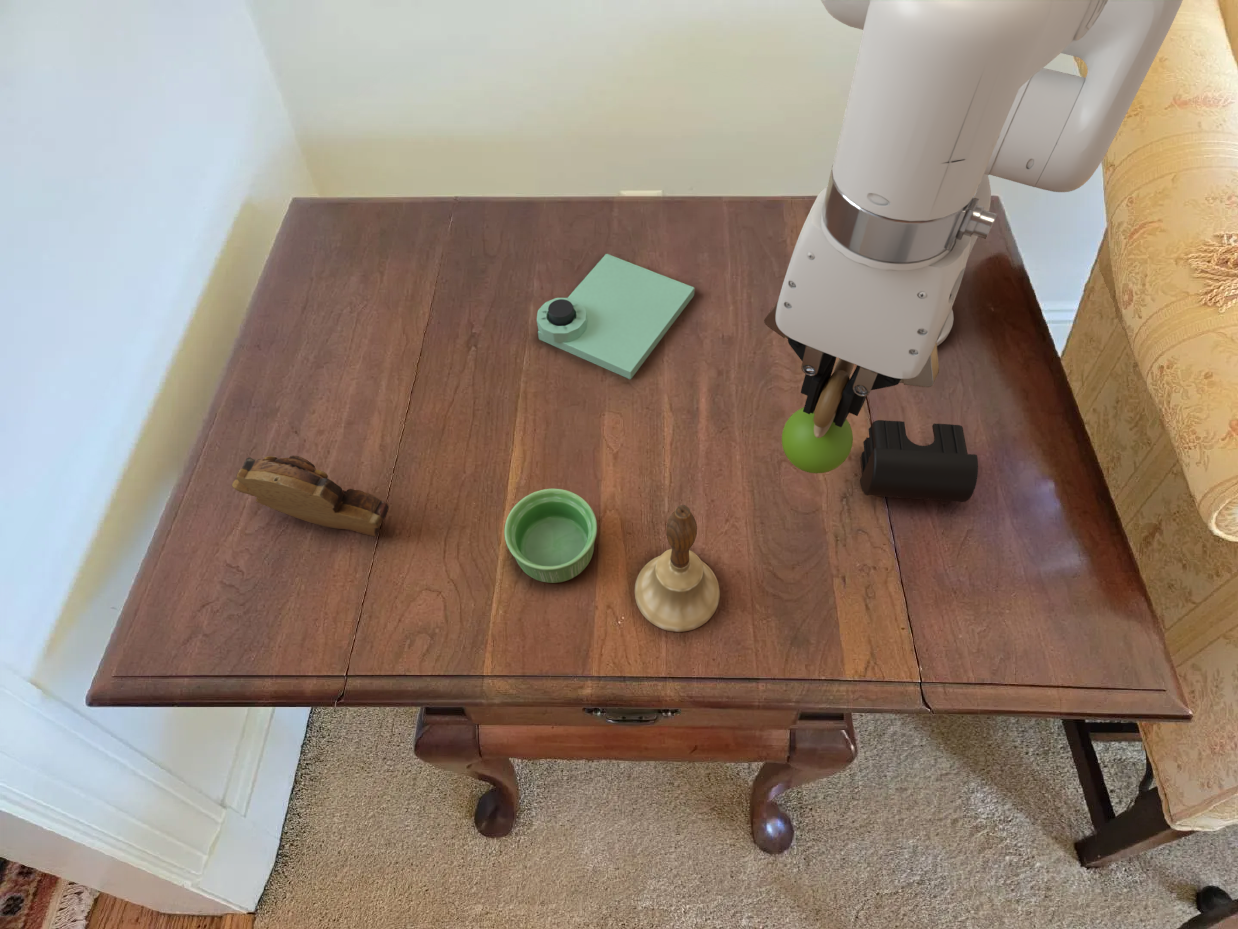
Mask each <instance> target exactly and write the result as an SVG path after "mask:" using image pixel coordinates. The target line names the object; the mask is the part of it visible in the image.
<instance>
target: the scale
mask: <svg viewBox="0 0 1238 929" xmlns="http://www.w3.org/2000/svg"><path fill="white" fill-rule="evenodd" d="M694 297H695V287H694V286H692V285H690V284H686V283H683V282H682V281H679V280H676V279H673V278H670V277H669V276H665V275H663V274H661V273H659V272H655V271H652V270H650V269H648V268H646V267H643V266H639V265H637V264H635V263H632V262H629V261H627V260H624V259H622V258H619V257H616V256H613V255H611V254H609V253H605V254H604V256H602V258H601V259H600V260H599V261H598V262H597V263H596V265H595V266H594V267H593V268H592V269H591V270H590V271H589V272H588V274H587V275H586V276H585V277H584V278H583V280H582V281H581V282H580V283H579V284H578V285H577V286H576V287H575V288H574V290H573V291H572V292H571V293H570V294H569V295H568V296H567V297H555V298H553V299H550V300H547V301H545V302H544V303H543V304H542V305H541V306H540V308H538V310H537V312H536V324H537V330H538V331H537V335H538V336H537V337H538V340H539V341H541V342H544V343H546V344H549V345H551V346H553V347H555V348H557V349H560V350H562V351H564V352H567V353H569V354H572V355H574V356H576V357H578V358H580V359H583V360H584V361H588V362H590V363H591V364H594V365H596V366H597V367H601V368H603V369H605V370H607V371H610V372H613V373H614V374H616V375H619V376H621V377H623V378H625V379H628V380H632V379H633V377H634V376H635V375H636V374H637V372H638V371H639V369H640V368H641V366H643V364H644V363H645V362H646V360H647V359H648V357H649V356H650V355H651V353H653V351H654V349H655V348H656V347H657V346H658V344H659V343H660V341H661V340H662V339H663V338H664V337H665V335H666V334H667V333H668V331H669V329H671V326H673V324H674V323H675V321H676V320H677V319H678V317H679V316H680V315H681V314H682V312H683V311H684V310H685V308H686V307H687V305H689V303H690V302H691V300H692V299H693V298H694ZM559 299H564V300H568V301H569V302H571V303H572V305H573V308H574V319H573V321H572V322H571V323H570V324H568V325H566V326H557V325H554V324H553V323H552V322H551V321H550V319H549V312H548V307H549V305H550V304H551V303H552V302H553V301H555V300H559Z"/></svg>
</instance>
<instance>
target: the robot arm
mask: <svg viewBox="0 0 1238 929" xmlns="http://www.w3.org/2000/svg"><path fill="white" fill-rule="evenodd" d="M820 1H821V4H822V5H823V6H824V8H825V10H826V11H827V13H828V14H829V15H830V16H831V17H832V18H833V19H835V20H837V21H838V22H840V23H841V24H843V25H846V26H848V27H850V28H854V29H858V30H862V34H861V38H860V43H859V48H858V52H857V56H856V62H855V64H854V69H853V74H852V79H851V83H850V88H849V92H848V97H847V101H846V105H845V109H844V110H845V111H844V115H843V118H842V119H843V120H842V123H841V128H840V132H839V137H838V140H837V145H836V150H835V154H834V158H833V163H832V166H831V168H830V169H831V170H830V174H829V178H828V182H827V186H825V187H824V188H822V190H821V191H819V193H818V195H817V196H816V197H815V200H814V202H813V204H812V206H811V208H810V211H809V212H808V215H807V216H806V219H805V221H804V223H803V225H802V228H801V231H800V233H799V235H798V237H797V240H796V243H795V245H794V248H793V251H792V254H791V258H790V260H789V264H788V266H787V269H786V273H785V276H784V279H783V282H782V285H781V288H780V291H779V292H780V293H779V296H778V300H777V301H776V302H775V303H774V304H773V306H772V307H771V309H770V310H769V311H768V313H767V315H766V316H765V317H764V320H763V322H764V325H765V326H766V327H768V328H769V329H770V330H771V331H773V332H774V333H776V334H777V335H779V336H780V337H781V338H783V339H787V343H788V346H790V347H791V349H792V350H793V351H794V353H795V354H796V355H797V357H798V358H799V359H800V361H801V367H800V369H801V371H802V372H803V374H805V375H804V378H803V382H802V386H801V390H800V394H802V395H805V396H806V398H805V404H804V406H803V407H804V410H803V412H805V413H807V414H810V413H812V414H813V413H814V410H815V408H816V405H817V403H818V400H819V397H820V394H821V391H822V389H823V387H824V385H825V383H826V381H827V380H828V379H829V378H830V377H831V375H832V374H833V372H834V368H835V365H836V360H837V358H838V359H839V358H840V359H843V360H845V361H848V362H851V363H853V364H854V365H856V367H855V369H854V371H852V373H851V375H850V377H849V378H850V380H849V382H848V384H847V385H846V387H845V389H844V391H843V394H842V398H841V400H840V402H839V405H838V408H837V411H836V414H835V417H834V420H833V422H834V423H835V425H836V426H839V427H842V426H843V424H844V422H845V420H846V419H847V417H848V416H849V414H851V415H853V416H856V417H858V415H859V414H860V412H861V410H862V408H863V407H864V405H865V401H866V400H867V397H868V396H869V395H870V393H871V391H875V390H879V389H884V388H885V389H886V388H890V387H895V386H897V385H899V384H903V386H910V387H911V386H912V387H920V388H931V387H932V386H933V385H934V383H935V381H936V379H937V377H938V375H939V373H940V364H939V355H938V346H940V345H941V344H942V343H943V342H944V341H945V340H946V339H947V338H948V336H949V334H950V332H951V330H952V328H953V325H954V319H955V318H954V311H953V306H954V303H955V300H956V298H957V295H958V292H959V290H960V287H961V284H962V281H963V278H964V274H965V271H966V267H967V262H968V260H969V258H970V255H971V253H972V251H973V250H974V249H973V248H974V247H975V244H976V242H977V239H978V238H981V239H985V240H986V239H987V238H988V235H989V233H990V231H991V229H992V227H993V224H994V223H995V221H996V219H997V216H998V213H995V212H992V211H990V209H991V208H990V207H991V201H992V189H991V182H990V179H989V178H990V177H989V175H990V176H992V177H996V178H999V179H1003V180H1008V181H1009V182H1014V183H1018V184H1022V185H1024V186H1028V187H1032V188H1036V189H1040V190H1044V191H1047V192H1053V193H1071V192H1073V191H1075V190H1078V189H1080V188H1081V187H1082V186H1084V185H1085V184H1086V183H1087V182H1088V181H1089V180H1090V179H1091V177H1093V175H1094V173H1095V172H1096V171H1097V170H1098V168H1099V167H1100V165H1101V163H1102V161H1103V160H1104V158H1105V156H1106V154H1107V153H1108V151H1109V148H1110V147H1111V145H1112V143H1113V141H1114V140H1115V137H1116V135H1117V134H1118V131H1119V129H1120V127H1121V126H1122V124H1123V122H1124V120H1125V118H1126V115H1127V114H1128V111H1129V110H1130V108H1131V106H1132V104H1133V102H1134V100H1135V98H1136V96H1137V94H1138V92H1139V90H1140V88H1141V86H1142V84H1143V82H1144V80H1145V78H1146V76H1147V75H1148V72H1149V70H1150V68H1151V67H1152V65H1153V63H1154V62H1155V61H1154V60H1155V59H1156V56H1157V55H1158V53H1159V51H1160V49H1161V47H1162V45H1163V43H1164V41H1165V39H1166V37H1167V35H1168V33H1169V31H1170V29H1171V28H1172V25H1173V23H1174V21H1175V19H1176V16H1177V14H1178V12H1179V9H1180V8H1181V6H1182V3H1183V1H1184V0H820ZM1061 54H1063V55H1067V56H1072V57H1076V58H1078V59H1080V60H1082V61H1083V62H1084V64H1085V65H1086V68H1087V73H1086V75H1085V77H1084V76H1079V75H1075V74H1070V73H1067V72H1063V71H1059V70H1056V69H1055V70H1054V69H1050V68H1046V67H1047V65H1049V64H1051V62H1052V61H1053V60H1055V59H1056V58H1057V57H1058V56H1059V55H1061Z"/></svg>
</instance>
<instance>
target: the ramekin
mask: <svg viewBox="0 0 1238 929" xmlns="http://www.w3.org/2000/svg"><path fill="white" fill-rule="evenodd" d="M503 531H504V532H503V534H504V541H505V545H506V547H507V549H508V551H509V552H510V553H511V555H512V557H513V558H514V559H515V561H516V563H517V564H518V566H519V567H520V569H521V570H522V571H523V572H524V573H525V574H526V575H527V576H528V577H530V578H532V579H534V580H536V581H538V582H541V583H548V584H557V583H563V582H566V581H569V580H572V579H574V578H575V577H577V576H579V575H580V574H581V573H582V572H583V571H584V570H585V569H586V568H587V567H588V565H589V563H590V562H591V560H592V558H593V554H594V550H595V541H596V538H597V534H598V521H597V518H596V515H595V512H594V510H593V508H592V507H591V505H590V504H589V503H588V502H587V501H586V500H585V499H584V498H582V497H581V496H580V495H578V494H576V493H574V492H572V491H570V490H567V489H562V488H545V489H540V490H537V491H534V492H532V493H529V494H528V495H526V496H525V497H523V498H521V499H520V500H519V501H518V502H517V503H515V505H514V506H513V507H512V508H511V510H510V512H508V515H507V517H506V519H505V523H504V530H503Z"/></svg>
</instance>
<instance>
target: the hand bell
mask: <svg viewBox="0 0 1238 929" xmlns="http://www.w3.org/2000/svg"><path fill="white" fill-rule="evenodd" d="M697 533H698V525H697V521H696V518H695V516H694V514H693V513H692V511H691V509H690V507H688V506H687V505H685V504H680V505H678V506H676V507H675V509H674V511H673V512H672V513H671V514H670V516H669V517H668V519H667V522H666V528H665V534H666V539H667V542H668V545H669V546H670V548H669V549H667V550H665V551H664V552H663V553H661V555H658V556H656V557H654V558H652V559H651V560H650V561H648V562H646V564H645V565H644V566H642V568H641V570H640V571H639V573H638V575H637V577H636V579H635V584H634V598H635V603H636V606H637V608H638V610H639V612H640V613H641V614H642V616H643V617H644V618H645V619H646V620H647V621H648V622H649V623H650V624H652V625H653V626H655V627H657V628H659V629H662V630H664V631H667V632H672V633H683V632H689V631H693V630H696V629H698V628H700V627H702V626H703V625H705V624H706V623H707V622H708V621H709V620H710V619H711V618H712V617H713V616H714V614H715V613H716V611H717V609H718V606H719V603H720V597H721V590H720V584H719V581H718V578H717V576H716V574H715V573H714V571H713V570H712V569H711V567H710V566H709V565H707V564H706V563H705V562H704V561H703V560H701V558H700V557H699V555H697V553H695V552H694V551H692V550H690V549H691V548H692V546H693V545H694V543H695V541H696V538H697Z"/></svg>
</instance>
